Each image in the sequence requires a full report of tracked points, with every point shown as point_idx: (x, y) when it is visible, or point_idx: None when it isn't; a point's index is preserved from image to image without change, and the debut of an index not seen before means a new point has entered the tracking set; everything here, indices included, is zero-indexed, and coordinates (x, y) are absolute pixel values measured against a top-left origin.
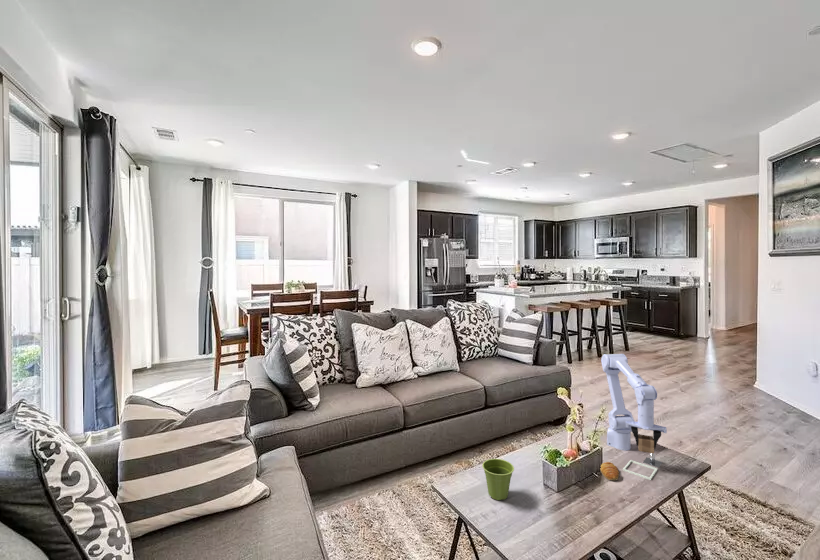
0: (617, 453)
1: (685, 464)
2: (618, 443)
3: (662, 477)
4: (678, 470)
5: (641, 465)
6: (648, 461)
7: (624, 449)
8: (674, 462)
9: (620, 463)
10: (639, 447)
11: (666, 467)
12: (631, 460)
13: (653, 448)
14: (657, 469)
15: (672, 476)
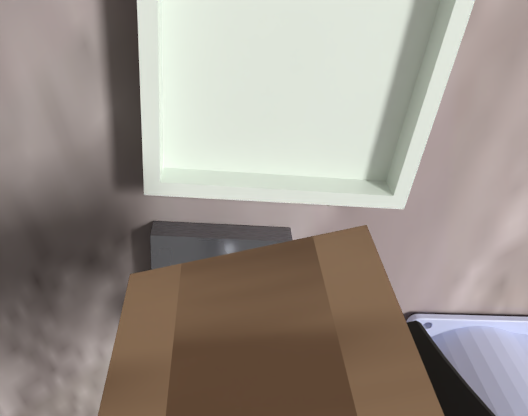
0: (492, 284)
1: (30, 393)
2: (515, 376)
3: (79, 98)
4: (28, 299)
5: (295, 180)
6: None
7: (446, 345)
8: (97, 380)
9: (483, 130)
10: (372, 277)
11: (116, 291)
12: (393, 201)
13: (120, 350)
14: (145, 188)
15: (19, 177)
